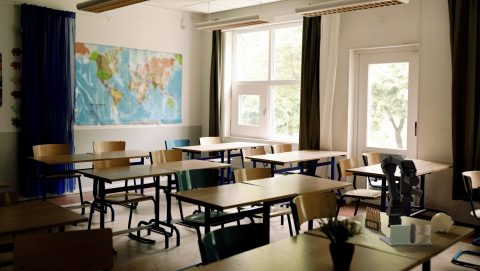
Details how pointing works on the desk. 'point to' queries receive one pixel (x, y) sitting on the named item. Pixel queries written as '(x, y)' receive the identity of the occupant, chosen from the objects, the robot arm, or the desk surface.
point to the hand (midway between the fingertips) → (405, 211)
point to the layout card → (387, 241)
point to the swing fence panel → (399, 234)
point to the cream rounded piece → (442, 222)
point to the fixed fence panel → (420, 233)
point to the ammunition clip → (373, 219)
